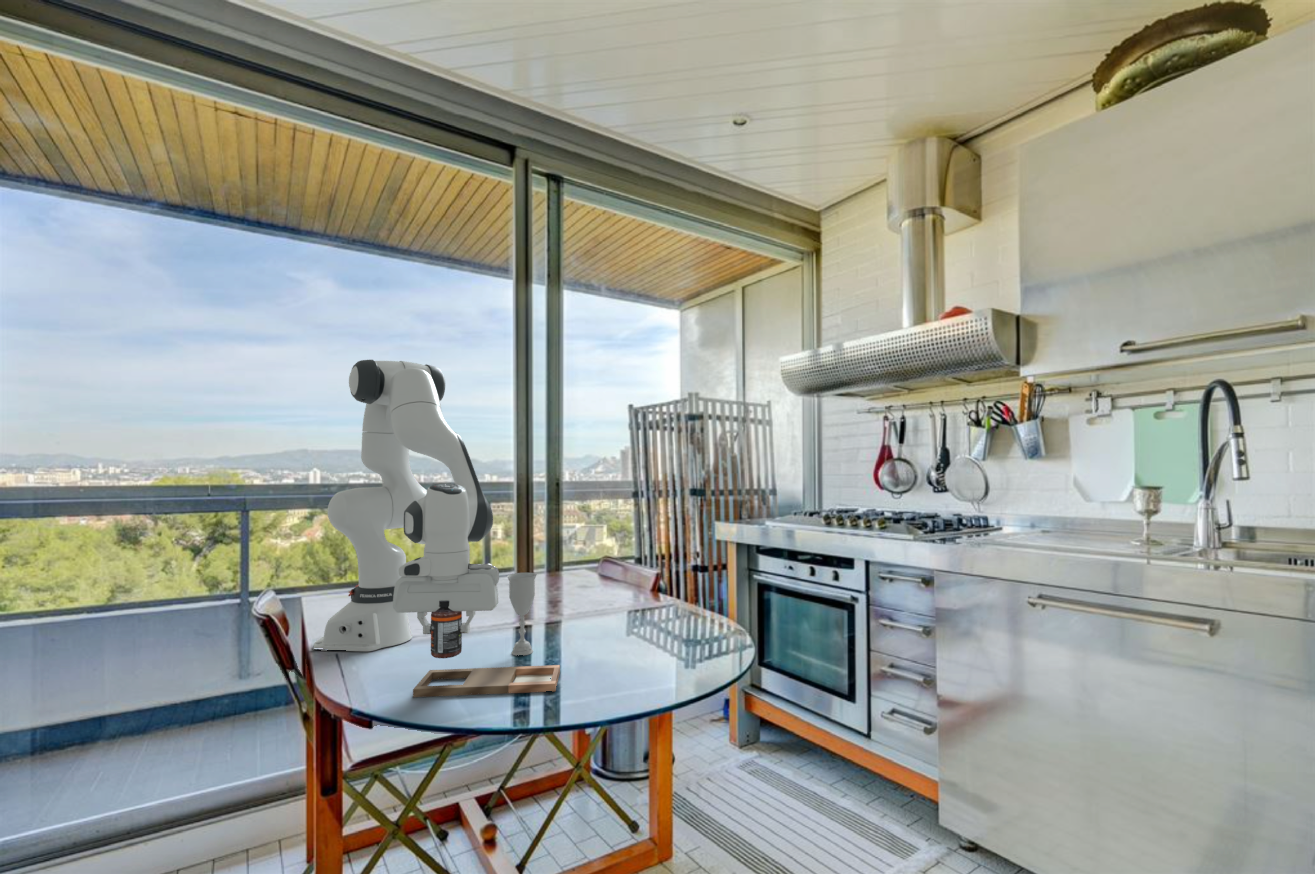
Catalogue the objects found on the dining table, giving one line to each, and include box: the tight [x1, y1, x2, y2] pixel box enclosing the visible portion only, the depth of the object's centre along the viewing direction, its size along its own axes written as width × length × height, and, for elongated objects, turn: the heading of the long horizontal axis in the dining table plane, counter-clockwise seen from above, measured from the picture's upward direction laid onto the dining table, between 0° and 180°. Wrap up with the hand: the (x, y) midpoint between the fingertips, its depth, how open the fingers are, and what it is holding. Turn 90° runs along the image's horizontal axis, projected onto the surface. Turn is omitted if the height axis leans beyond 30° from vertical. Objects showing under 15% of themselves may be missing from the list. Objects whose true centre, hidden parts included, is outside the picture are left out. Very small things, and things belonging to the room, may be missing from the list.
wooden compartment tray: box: [412, 664, 561, 698], centre depth 124 cm, size 27×11×2 cm, turn 94°
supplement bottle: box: [430, 600, 463, 659], centre depth 124 cm, size 6×6×11 cm
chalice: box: [506, 572, 538, 657], centre depth 145 cm, size 7×7×18 cm
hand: (446, 633), depth 124 cm, fingers closed on supplement bottle, 6 cm apart
